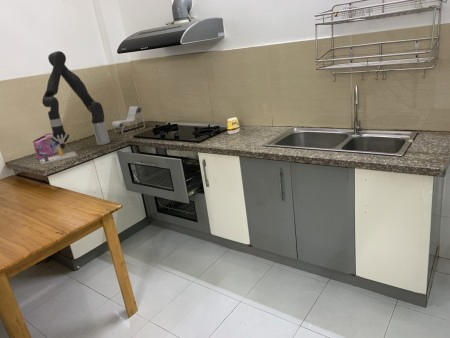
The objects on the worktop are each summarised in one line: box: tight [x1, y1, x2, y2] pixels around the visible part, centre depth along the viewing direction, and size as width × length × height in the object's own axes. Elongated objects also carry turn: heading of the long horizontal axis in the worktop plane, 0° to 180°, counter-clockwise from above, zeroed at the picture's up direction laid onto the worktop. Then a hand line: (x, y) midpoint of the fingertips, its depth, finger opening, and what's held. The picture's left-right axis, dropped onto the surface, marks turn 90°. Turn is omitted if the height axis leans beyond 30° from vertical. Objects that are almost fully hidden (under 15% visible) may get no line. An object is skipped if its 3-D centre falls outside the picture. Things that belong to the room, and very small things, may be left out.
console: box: [39, 150, 78, 165], centre depth 252 cm, size 24×12×2 cm, turn 121°
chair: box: [111, 105, 146, 135], centre depth 313 cm, size 13×25×20 cm, turn 135°
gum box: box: [32, 132, 60, 160], centre depth 264 cm, size 24×8×14 cm, turn 0°
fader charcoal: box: [43, 153, 49, 161], centre depth 244 cm, size 2×4×5 cm
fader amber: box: [57, 147, 64, 156], centre depth 254 cm, size 2×4×5 cm
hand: (63, 148), depth 255 cm, fingers closed
